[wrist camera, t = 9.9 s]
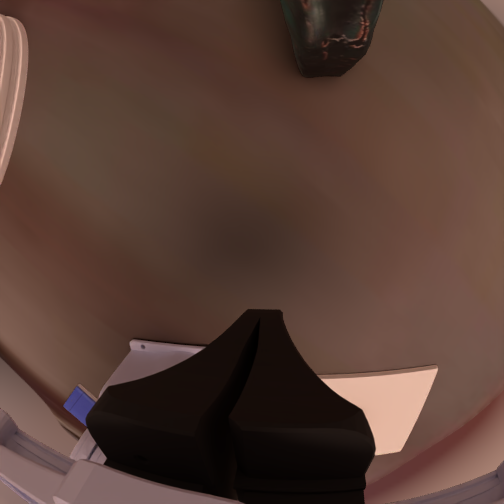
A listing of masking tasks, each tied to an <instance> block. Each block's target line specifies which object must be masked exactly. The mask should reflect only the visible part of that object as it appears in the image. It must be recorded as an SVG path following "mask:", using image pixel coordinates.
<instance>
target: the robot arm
mask: <svg viewBox="0 0 504 504" xmlns="http://www.w3.org/2000/svg"><path fill="white" fill-rule="evenodd" d="M143 345H144V346H145V347H144V346H143ZM130 347H131V351H130V352H129V354H128V355H127V356H126V357H125V359H124V360H123V361H122V362H121V364H120V365H119V366H118V368H117V369H116V370H115V371H114V373H113V374H112V375H111V377H110V378H109V379H108V380H107V382H106V383H105V384H104V386H103V388H102V390H101V392H100V394H99V397H98V400H97V402H96V403H95V404H94V406H93V407H92V408H91V410H90V411H89V413H88V414H87V416H86V419H85V420H86V426H87V429H86V431H85V432H84V433H83V435H82V436H81V438H80V439H79V441H78V443H77V444H76V446H75V448H74V449H73V451H72V453H71V455H70V457H67V456H65V455H63V454H61V453H59V452H57V451H56V450H54V449H52V448H50V447H48V446H46V445H45V444H43V443H41V442H39V441H38V440H36V439H34V438H33V437H31V436H29V435H28V434H26V433H25V432H23V431H21V430H20V429H19V428H18V426H17V425H16V423H15V422H14V420H13V419H12V418H11V417H10V416H9V415H8V413H6V412H5V411H4V410H2V409H1V408H0V480H1V481H2V482H3V483H4V484H6V485H7V486H8V487H9V488H10V489H11V490H13V491H14V492H15V493H16V494H18V495H19V496H20V497H21V498H23V499H24V500H25V501H27V502H28V503H29V504H365V503H364V491H363V490H364V489H365V488H366V480H365V473H366V471H367V470H368V468H369V466H370V464H371V462H372V460H373V458H374V456H375V451H376V446H375V440H374V436H373V433H372V430H371V428H370V425H369V423H368V420H367V418H366V416H365V414H364V412H363V410H362V409H361V408H359V407H358V406H356V405H354V404H353V403H351V402H349V401H348V400H346V399H344V398H343V397H341V396H340V395H338V394H337V393H336V392H335V391H333V390H332V389H331V388H330V387H329V386H328V385H327V384H325V383H324V382H323V381H322V380H321V379H320V378H319V377H318V376H317V375H316V374H315V373H314V372H313V370H312V369H311V368H310V367H309V366H308V364H307V363H306V362H305V361H304V359H303V358H302V356H301V355H300V353H299V352H298V350H297V349H296V347H295V345H294V343H293V342H292V340H291V338H290V336H289V333H288V331H287V329H286V326H285V323H284V320H283V312H282V311H281V310H263V309H248V310H246V311H245V312H244V313H243V314H242V315H241V316H240V317H239V318H238V319H237V320H236V321H235V322H234V323H233V324H232V325H231V326H230V327H229V328H228V329H227V330H226V331H225V332H224V333H223V334H221V335H220V336H219V337H218V338H217V339H215V340H214V341H213V342H212V343H210V344H209V345H208V346H207V347H202V346H190V345H179V344H169V343H160V342H151V341H143V340H136V339H133V340H131V341H130ZM387 504H504V461H503V462H502V463H501V464H500V465H499V466H498V468H497V470H495V471H493V472H490V473H488V474H486V475H483V476H481V477H478V478H476V479H473V480H471V481H468V482H465V483H463V484H460V485H457V486H454V487H451V488H448V489H445V490H441V491H438V492H435V493H431V494H428V495H424V496H420V497H416V498H411V499H407V500H403V501H397V502H393V503H387Z"/></svg>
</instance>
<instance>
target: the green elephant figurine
mask: <svg viewBox="0 0 504 504" xmlns="http://www.w3.org/2000/svg"><path fill="white" fill-rule="evenodd" d="M280 2H281V6H282V10H283V13H284V18H285V22H286V25H287V27H288V30H289V32H290V35H291V40H292V45H293V50H294V54H295V57H296V62H297V65H298V67H299V70H300V72H301V74H302V75H303V76H304V77H319V76H341V75H343V74H345V73H346V72H347V71H348V70H349V69H351V68H352V67H353V66H354V65H355V64H356V63H357V62H358V61H359V60H360V59H361V58H362V57H363V56H364V55H365V54H366V52H367V50H368V48H369V46H370V44H371V40H372V37H373V32H374V28H375V26H376V23H377V20H378V17H379V14H380V11H381V8H382V4H383V0H280Z"/></svg>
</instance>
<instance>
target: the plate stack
mask: <svg viewBox="0 0 504 504" xmlns="http://www.w3.org/2000/svg"><path fill="white" fill-rule="evenodd" d="M27 69H28V40H27V35H26V31H25V28H24V26H23V24H22V23H21V22H20V21H19V20H18V19H15V18H12V17H9V16H4V15H2V14H0V185H1V183H2V180H3V177H4V175H5V172H6V169H7V166H8V163H9V159H10V156H11V153H12V149H13V145H14V141H15V137H16V133H17V129H18V125H19V120H20V115H21V110H22V105H23V99H24V93H25V86H26V79H27Z"/></svg>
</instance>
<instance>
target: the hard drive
mask: <svg viewBox="0 0 504 504" xmlns="http://www.w3.org/2000/svg"><path fill="white" fill-rule="evenodd" d="M97 400H98V399H97V398H95V397H94V396H93V395H92V394H91V393H90V392H89V391H87V390H86V389H85V388H84V387H83V386H82V385H81V384H80V383H79V384H78V385H77V387H76V388H75V389H74V391H73V392H72V394H71V395H70V397H69V398H68V400H67V401H66V403H65V404H64V405H63V406H64V407H65V408H66V409H67V410H68V411H69V412H71V413H72V414H73V415H74V416H75V417H76V418H77V419H79V420H80V421H81V422H82V423H83V424H84V425H86V420H85V419H86V416H87V414H88V413H89V411H90V410H91V408H92V407H93V406H94V404H95V403H96V402H97Z"/></svg>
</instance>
